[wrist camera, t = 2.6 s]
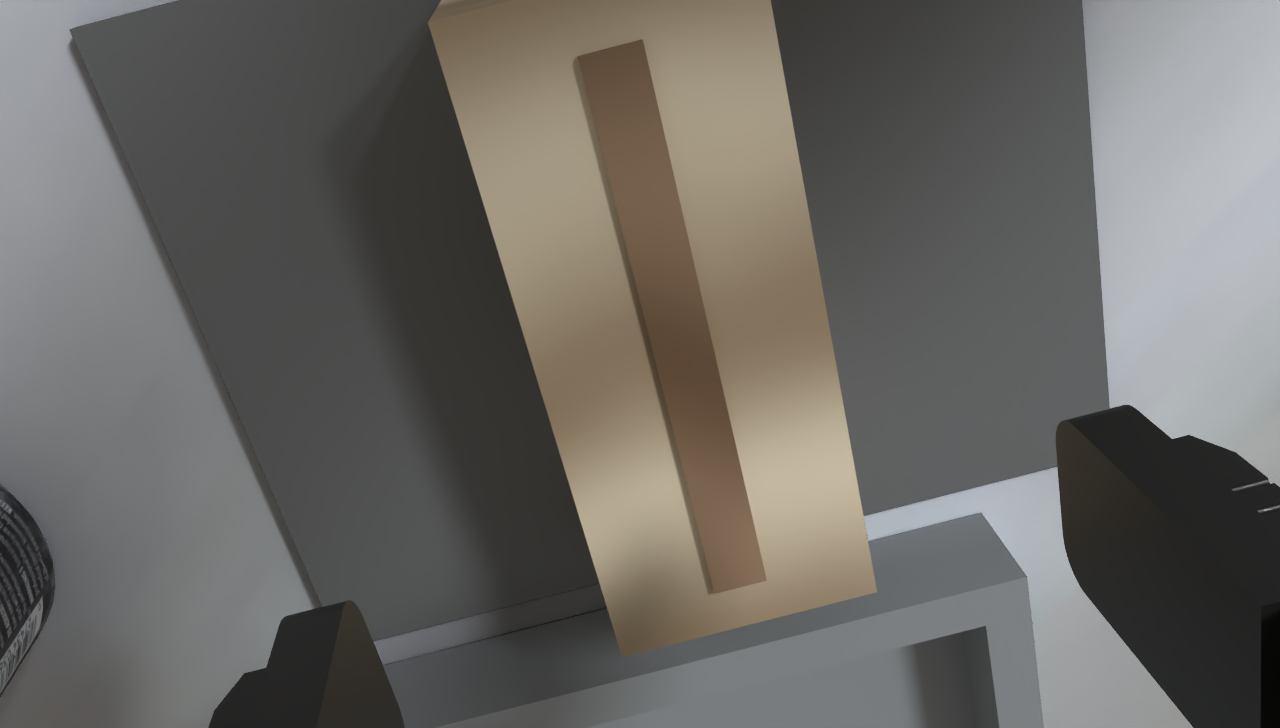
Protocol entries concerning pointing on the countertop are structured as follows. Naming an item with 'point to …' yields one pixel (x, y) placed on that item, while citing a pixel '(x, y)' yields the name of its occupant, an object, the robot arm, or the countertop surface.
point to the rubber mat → (483, 306)
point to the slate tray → (772, 658)
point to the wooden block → (666, 299)
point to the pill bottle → (21, 584)
